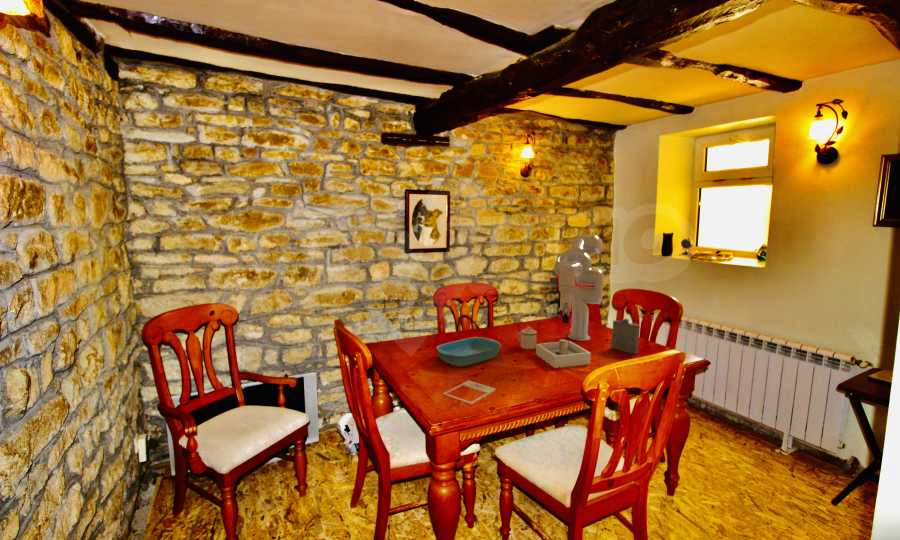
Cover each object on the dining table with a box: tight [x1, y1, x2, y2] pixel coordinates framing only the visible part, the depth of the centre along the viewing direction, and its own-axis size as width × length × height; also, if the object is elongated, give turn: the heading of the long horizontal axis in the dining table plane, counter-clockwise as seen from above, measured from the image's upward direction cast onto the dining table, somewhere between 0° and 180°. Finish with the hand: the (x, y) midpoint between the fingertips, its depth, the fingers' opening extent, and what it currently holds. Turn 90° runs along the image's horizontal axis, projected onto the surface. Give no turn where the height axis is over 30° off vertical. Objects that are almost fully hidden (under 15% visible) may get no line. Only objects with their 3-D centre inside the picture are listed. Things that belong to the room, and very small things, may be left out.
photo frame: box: [443, 379, 497, 405], centre depth 185 cm, size 15×1×18 cm
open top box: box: [535, 340, 592, 369], centre depth 225 cm, size 20×20×6 cm
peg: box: [558, 339, 568, 355], centre depth 224 cm, size 4×4×10 cm
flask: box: [611, 318, 640, 355], centre depth 237 cm, size 4×14×18 cm, turn 43°
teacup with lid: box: [516, 326, 538, 350], centre depth 244 cm, size 12×9×12 cm
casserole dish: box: [436, 336, 502, 368], centre depth 226 cm, size 37×22×7 cm, turn 129°
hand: (565, 320), depth 223 cm, fingers open, 9 cm apart
